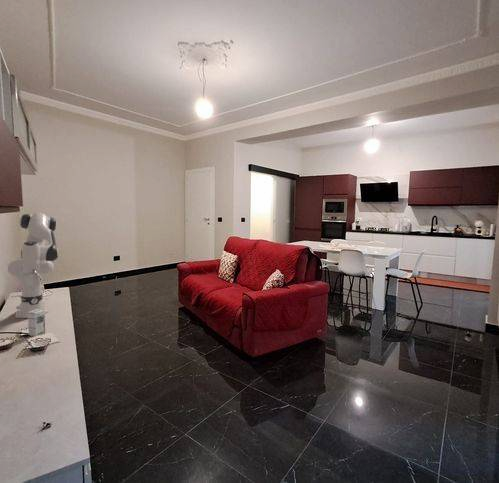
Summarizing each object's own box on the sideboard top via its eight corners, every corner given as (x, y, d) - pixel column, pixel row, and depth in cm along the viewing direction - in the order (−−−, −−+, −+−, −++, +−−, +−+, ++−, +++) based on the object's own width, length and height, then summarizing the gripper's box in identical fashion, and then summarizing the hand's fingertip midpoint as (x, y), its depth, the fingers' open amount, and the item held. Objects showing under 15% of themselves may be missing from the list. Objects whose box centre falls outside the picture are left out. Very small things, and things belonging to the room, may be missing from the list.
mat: (26, 339, 166) (26, 338, 166) (50, 333, 176) (50, 332, 175) (34, 348, 156) (34, 347, 156) (59, 341, 165) (59, 340, 165)
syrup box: (36, 336, 170) (36, 312, 169) (28, 335, 171) (27, 311, 170) (45, 333, 176) (44, 309, 175) (37, 332, 177) (36, 308, 176)
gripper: (43, 270, 171) (43, 293, 172) (33, 265, 184) (33, 287, 185) (29, 271, 166) (30, 295, 167) (20, 266, 179) (21, 288, 181)
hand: (32, 291), depth 177 cm, fingers closed
